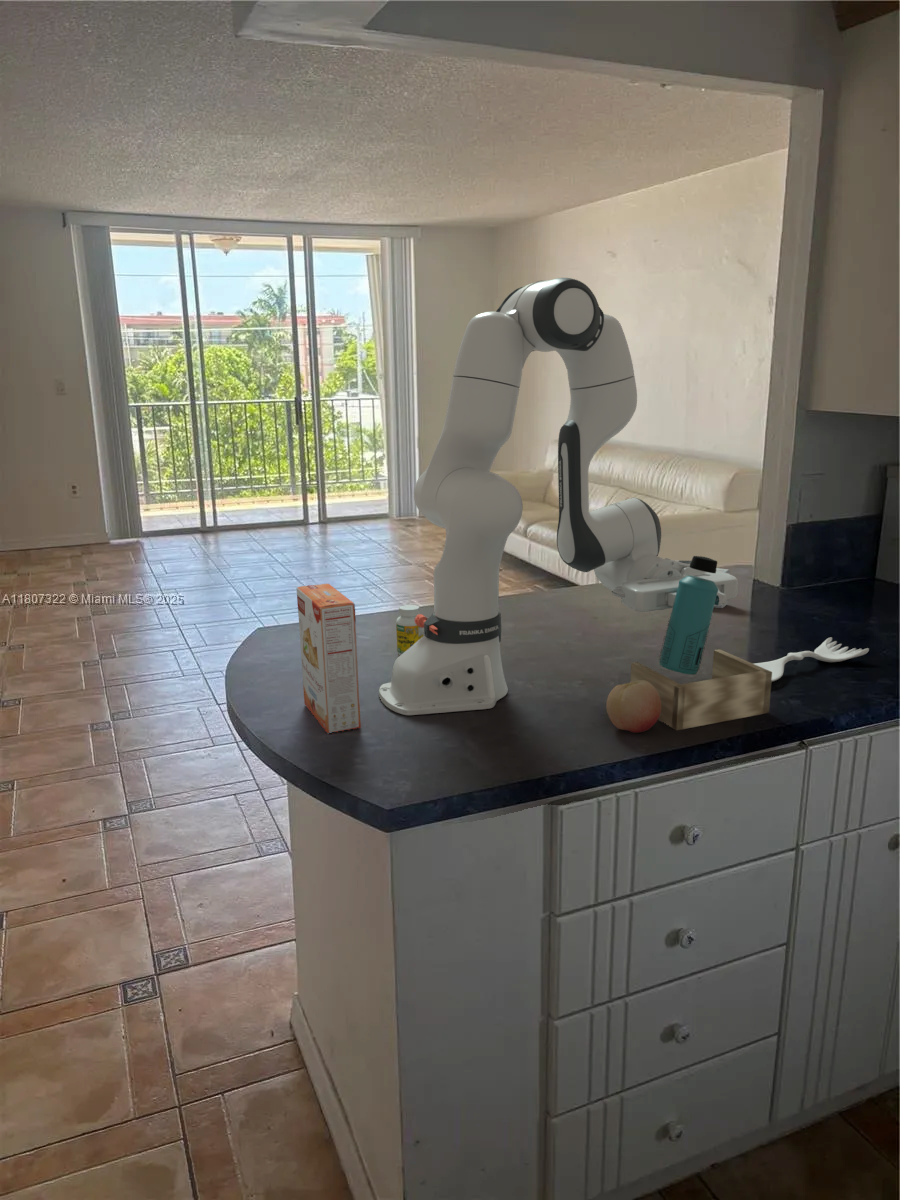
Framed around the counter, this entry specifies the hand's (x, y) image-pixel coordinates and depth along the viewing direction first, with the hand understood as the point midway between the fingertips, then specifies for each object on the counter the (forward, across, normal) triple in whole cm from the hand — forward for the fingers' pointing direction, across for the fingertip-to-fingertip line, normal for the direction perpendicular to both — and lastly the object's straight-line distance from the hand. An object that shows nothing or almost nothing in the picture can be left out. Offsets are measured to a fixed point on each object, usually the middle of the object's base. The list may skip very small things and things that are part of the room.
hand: (709, 602), depth 140 cm
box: (-1, 0, +18) cm, 18 cm away
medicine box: (-53, +43, +19) cm, 71 cm away
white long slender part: (-9, +27, +19) cm, 34 cm away
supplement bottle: (-47, -34, +18) cm, 61 cm away
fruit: (+3, -16, +18) cm, 24 cm away
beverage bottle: (-1, -5, +12) cm, 14 cm away
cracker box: (-21, -57, +18) cm, 64 cm away
